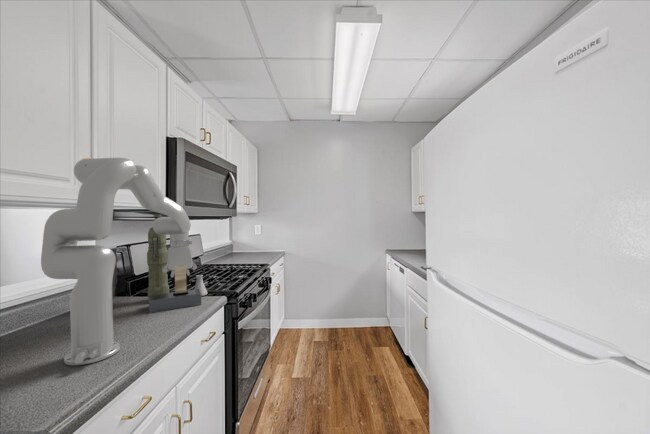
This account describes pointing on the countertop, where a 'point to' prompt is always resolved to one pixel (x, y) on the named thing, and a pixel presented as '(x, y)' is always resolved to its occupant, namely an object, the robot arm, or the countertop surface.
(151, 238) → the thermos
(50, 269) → the robot arm
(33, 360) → the countertop surface
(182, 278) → the peg
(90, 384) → the countertop surface
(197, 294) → the rail
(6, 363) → the countertop surface
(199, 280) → the flask
